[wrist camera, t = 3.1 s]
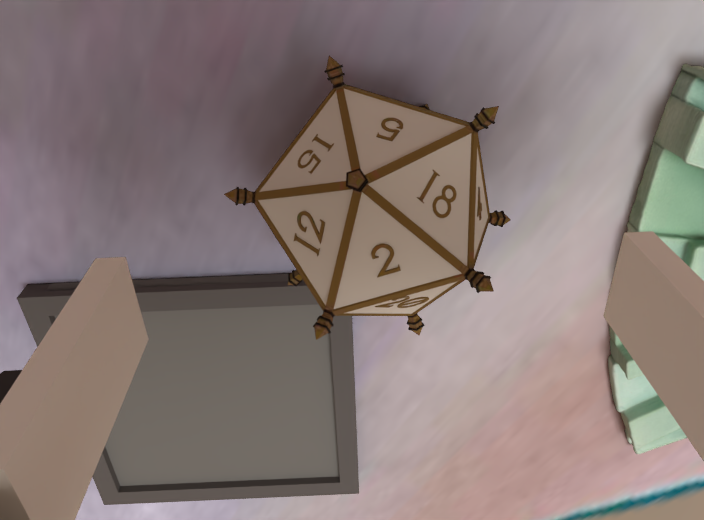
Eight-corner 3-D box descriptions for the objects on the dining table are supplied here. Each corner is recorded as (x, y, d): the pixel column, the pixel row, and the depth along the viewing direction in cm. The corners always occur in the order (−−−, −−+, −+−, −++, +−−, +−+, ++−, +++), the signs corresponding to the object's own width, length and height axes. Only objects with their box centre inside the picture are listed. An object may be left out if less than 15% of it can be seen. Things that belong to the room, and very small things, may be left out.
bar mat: (27, 284, 25) (16, 297, 24) (350, 270, 25) (350, 283, 24) (110, 488, 32) (104, 504, 31) (358, 478, 32) (359, 493, 31)
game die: (411, 120, 25) (611, 230, 19) (293, 272, 26) (454, 425, 20) (294, -30, 18) (557, 72, 12) (134, 184, 18) (311, 384, 13)
